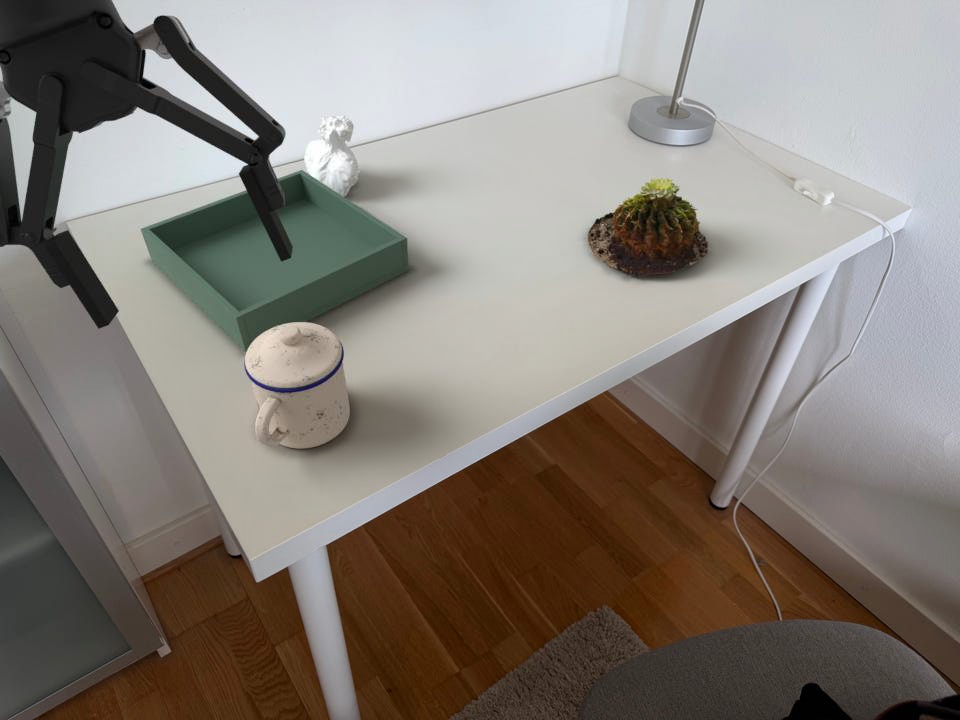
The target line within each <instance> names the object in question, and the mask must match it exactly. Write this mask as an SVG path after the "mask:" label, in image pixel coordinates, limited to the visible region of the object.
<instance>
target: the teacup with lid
mask: <svg viewBox="0 0 960 720" xmlns="http://www.w3.org/2000/svg"><path fill="white" fill-rule="evenodd" d="M344 357H345V351H344V346H343V344H342V342H341V340H340V339H339V337H338V336H337V335H336V334H335V333H334V332H333V331H332V330H330V329H329V328H327V327H326V326H323V325H320V324H318V323H314V322H309V321H307V322H293V323H287V324H282V325H279V326H276V327H273V328H271V329H269V330H267V331H265V332H264V333H262V334H261V335H259V336H258V337H257V338H256V339H255V340H254V341H253V342H252V343H251V345H250V346H249V348H248V350H247V352H245V356H244V362H243V366H244V371H245V374H246V377H248V379H249V380H250V383H251V385H252V390H253V393H254V396H255V399H256V403H257V406H258V407H257V408H258V410H259V411H258V413H257V416H256V418H255V424H254V429H255V430H254V433H255V436H256V438H257V441H259V443H261V444H262V445H264V446H267V447H275V446H278V445H281V446H284V447H287V448H292V449H311V448H315V447H319V446H322V445H324V444H326V443H328V442H330V441H332V440H333V439H335V438H336V437H337V436H339V434H341V433H342V431H344V429H345V428H346V426H347V424H348V422H349V419H350V414H351V408H350V401H349V394H348V388H347V381H346V375H345V368H344Z"/></svg>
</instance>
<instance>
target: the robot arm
mask: <svg viewBox="0 0 960 720" xmlns="http://www.w3.org/2000/svg"><path fill="white" fill-rule="evenodd" d="M195 45H196V44H195V43H194V42H193V40H192V38H191V37H190V35H189V33H188V32H187V30H186V29H185V27H184V25H183V24H182V22H181V21H180V19H179V18H178V17H176V16H173V15H165V14H164V15H163V14H162V15H161V14H160V15H158V16H156V17H155V18H154V20H153V23H151V24H148V25H147V26H146V27H144V28H142V29H140V30H138V31H136V32H133V31H132V30H131V29H130V28H129V27H128V26H127V25H126V24H125V22H124V21H123V19H122V17H121V15H120V14H119V11H118V10H117V7H116V5H115V3H114V1H113V0H0V70H1V77H2V80H0V248H3V247H5V246H23V247H25V248H28V249H29V250H30V251H31V252H32V253H33V254H34V256H35V258H36V259H37V261H38V262H39V264H40V265H41V266H42V268H43V270H45V273H46V275H48V277H49V279H50V280H51V281H52V283H53V284H54V285H55V286H57V287H58V288H59V289H63V288H65V287H69V286H70V288H71V289H72V291H73V292H74V294H75V296H76V297H77V298H78V300H79V302H80V303H81V304H82V306H83V308H84V310H85V311H86V312H87V314H88V315H89V317H90V318H91V320H92V321H93V323H94V324H95V326H96V328H97V329H99V330H100V329H102V328H105V327H108V326H109V325H110V324H111V323H112V322H113V320H114V319H115V317H116V316H117V315H118V313H119V312H120V310H119V309H118V306H117V305H116V303H115V302H114V300H113V299H112V298H111V295H110V294H109V292H108V291H107V289H106V288H105V286H104V284H103V283H102V282H101V279H100V278H99V277H98V275H97V273H96V272H95V270H94V269H93V267H92V266H91V264H90V262H89V261H88V259H87V257H86V256H85V254H84V253H83V252H82V250H81V248H80V247H79V245H78V243H77V241H76V240H75V238H74V237H73V235H72V234H71V233H70V230H69V229H66V230H63V231H61V232H59V233H56V234H54V233H55V232H56V231H57V229H58V228H57V227H55V223H56V219H57V211H58V206H59V200H60V195H61V190H62V185H63V178H64V173H65V172H64V171H65V167H66V161H67V157H68V150H69V145H70V144H71V141H72V139H73V136H74V133H78V134H82V133H84V132H87V131H89V130H92V129H94V128H97V127H99V126H101V125H102V124H103V123H105V122H115V121H118V120H120V119H123V118H126V117H128V116H131V115H132V114H134V113H135V111H136V110H137V109H140V110H142V111H143V112H145V113H147V114H151V115H154V116H156V117H159V118H160V119H162V120H164V121H166V122H168V123H170V124H172V125H173V126H175V127H176V128H179V129H181V130H183V131H185V132H186V133H188V134H190V135H192V136H194V137H196V138H198V139H200V140H202V141H204V142H205V143H208V144H209V145H211V146H212V147H214V148H216V149H219V150H220V151H222V152H224V153H225V154H228V155H230V156H232V157H233V158H234V159H237V160H239V161H241V162H243V163H244V164H246V165H243V166H242V168H241V170H240V171H239V173H238V176H239V178H240V180H241V181H242V184H243V187H244V188H245V190H247V192H248V194H249V196H250V198H251V200H252V202H253V205H254V207H255V209H256V211H257V213H258V215H259V217H260V219H261V221H262V223H263V225H264V227H265V229H266V231H267V234H268V236H269V238H270V240H271V242H272V244H273V246H274V248H275V250H276V252H277V254H278V256H279V258H280V260H281V262H282V261H284V260H287V259H290V258H291V256H292V250H293V246H292V244H291V242H290V240H289V237H288V235H287V233H286V231H285V229H284V227H283V225H282V223H281V220H280V218H279V216H278V214H277V212H276V209H279V208H282V207H284V204H285V194H284V192H283V190H282V187H281V185H280V183H279V181H278V177H277V174H276V172H275V170H274V167H273V166H272V164H271V161H270V155H271V154H272V153H273V152H275V150H277V149H278V148H279V147H281V146H282V145H283V143H284V140H285V139H286V130H285V127H284V126H283V125H282V124H280V123H279V122H278V121H277V119H275V118H274V117H273V116H271V114H270V113H268V112H267V111H266V110H265V109H264V108H263V107H262V106H261V105H259V104H258V103H257V102H256V101H255V100H254V99H253V98H252V97H251V96H250V95H248V94H247V93H246V92H245V91H244V90H243V89H242V88H241V87H239V85H238V84H237V83H235V81H234V80H232V79H231V78H230V77H229V76H228V75H227V74H225V73H224V72H223V71H222V70H221V69H220V68H219V67H218V66H216V64H214V62H212V61H211V60H210V59H209V58H208V57H207V56H205V55H204V53H202V52H201V51H200V50H199V49H198V48H197V47H196V46H195ZM147 50H149V51H150V50H151V51H153V52H155V54H156V55H158V56H159V57H160V58H161V59H164V60H170V59H172V60H174V62H175V63H176V64H177V65H178V67H180V68H181V69H182V70H183V71H184V72H185V73H186V74H188V75H189V76H190V77H191V78H192V79H193V80H194V81H196V82H197V83H198V84H199V85H200V87H202V88H203V89H204V90H205V91H207V93H209V94H210V95H211V96H212V97H213V98H214V99H216V100H217V101H218V102H219V103H220V104H221V105H222V106H224V107H225V108H226V109H227V110H228V111H229V112H230V113H232V115H234V116H235V117H236V119H238V120H239V121H240V122H242V123H243V124H244V125H245V126H246V127H248V129H250V130H251V131H252V132H253V133H254V134H255V135H256V136H257V138H255V139H253V138H251V137H250V136H249V135H247V134H244V133H243V132H241V131H239V130H237V129H235V128H234V127H232V126H230V125H228V124H226V123H224V122H223V121H221V120H219V119H217V118H215V117H213V116H212V115H211V114H208V113H207V112H205V111H202V110H201V109H199V108H197V107H195V106H194V105H192V104H190V103H188V102H186V101H185V100H183V99H181V98H179V97H177V96H176V95H174V94H172V93H171V92H170V91H168V90H167V89H166V88H163V87H162V86H161V85H158V84H156V83H155V82H153V81H151V80H149V79H148V78H146V77H144V74H145V73H144V72H145V66H146V65H145V64H146V58H147ZM12 99H13V100H14V101H15V102H17V103H19V104H21V105H22V106H24V107H25V108H27V109H29V110H31V111H33V112H34V113H35V117H34V118H35V119H34V126H33V131H32V139H31V140H32V142H33V149H32V156H31V162H30V168H29V173H28V180H27V186H26V193H25V198H24V205H23V211H22V213H21V206H20V199H19V190H18V183H17V174H16V173H17V172H16V167H15V158H14V150H13V143H12V134H11V128H10V124H9V121H8V120H9V119H8V117H10V115H11V113H12V107H11V100H12ZM21 214H22V215H21Z"/></svg>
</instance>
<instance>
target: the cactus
mask: <svg viewBox="0 0 960 720" xmlns="http://www.w3.org/2000/svg"><path fill="white" fill-rule="evenodd" d="M639 189H640V190H641V191H640V193H636V194H635V195H634V196H633V197H627V199H625V200H622V204H618V205H617V208H615V210H614V211H613V212H609V213H605V214H604V216H602V217H599V218H596V219H595V221H594V223H593V224H592V225H591V227H590V228H589V230H588V232H587V242H588V245H589V247H590V250H591V252H592V253H593V254H594V255H595V256H596V258H598V260H600V261H602V262H603V263H605V264H606V265H608V266H610V267H611V268H614V269H616V270H617V271H623V272H626V274H627V276H631V275H634V276H635V277H644V276H649V275H651V276H652V275H663V274H670V273H674V272H677V271H680V270H683V269H684V268H685V267H686V266H687V267H688V266H689V267H691V266H693V265H694V264H695V263H697V262H699V261H700V260H702V258H704V257H705V256H706V255H707V254H708V250H709V249H708V247H709V246H708V245H709V242H708V241H707V238H706V236H704V234H702V233H701V231H700V223H701V221H699V220H698V217H697V212H696V211H698V210H699V208H695V206H693V204H692V203H690V201H688V200H687V199H683V197H682V196H677V193H678V192H679V191H680V186H679V185H676V184H675V183H673V179H672V178H671V179H669V178H668V177H666V178H665V179H663V177H660V178H655V179H654V178H651V179H650V182H644V186H641V187H640V188H639Z"/></svg>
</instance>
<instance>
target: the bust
mask: <svg viewBox="0 0 960 720" xmlns="http://www.w3.org/2000/svg"><path fill="white" fill-rule="evenodd" d="M321 119H322V123H321V124H320V126H319V127H318V130H317V133H318V135H319V136H320V138H321V139H313V140H311V141H310V142H308V143H307V147H306V149H305V152H304V153H305V154H304V165H305V166H306V167H305V168H306V172H307V173H308V174H309V175H311V176H312V177H314V178H315V179H317V180H318V181H320V182H322V183H323V184H325V185H326V186H328V187H329V188H331V189H332V190H334V191H335V192H337V193H339V194H340V195H342V196H343V197H346V196H347V195H348V193H349V191H350V189H351V188H352V187H354V186H355V185H356V184H357V182H358V180H359V176H360V175H359V174H360V173H361V170H360V168H359V164H358V161H357V158H356V156H355V154H354V152H353V151H352V150H351V148H349V147H348V145H347V143H350V142H351V139H352V136H353V133H354V128H355V126H354V123H353V122H352V121H351V120H350V119H349V118H348V117H346V115H343V114H342V115H330V117H326V116H322V117H321ZM346 141H347V143H346Z"/></svg>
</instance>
